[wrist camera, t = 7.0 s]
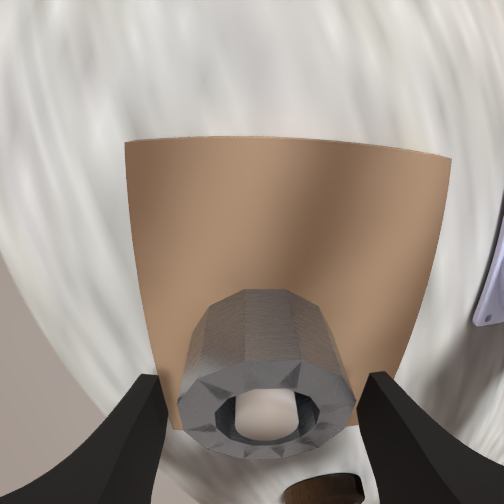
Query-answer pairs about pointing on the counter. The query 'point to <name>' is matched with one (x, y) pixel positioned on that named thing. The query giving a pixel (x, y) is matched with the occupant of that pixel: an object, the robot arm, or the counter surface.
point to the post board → (283, 247)
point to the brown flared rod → (327, 490)
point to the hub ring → (263, 372)
